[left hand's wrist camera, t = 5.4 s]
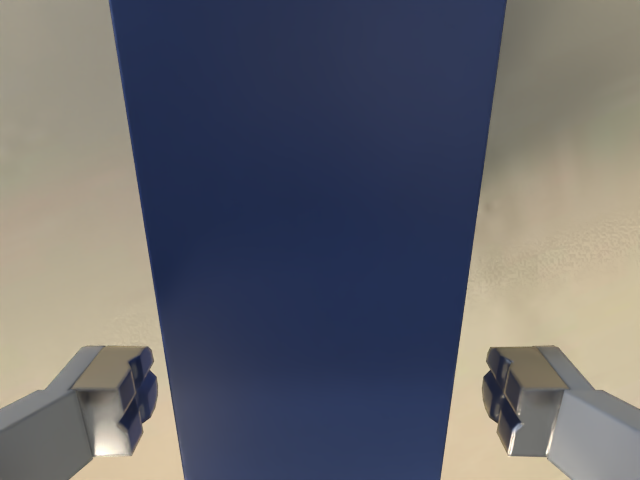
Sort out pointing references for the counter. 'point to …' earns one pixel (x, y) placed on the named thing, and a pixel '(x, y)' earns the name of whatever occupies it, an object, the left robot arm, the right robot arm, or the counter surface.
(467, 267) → the box
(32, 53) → the counter surface
